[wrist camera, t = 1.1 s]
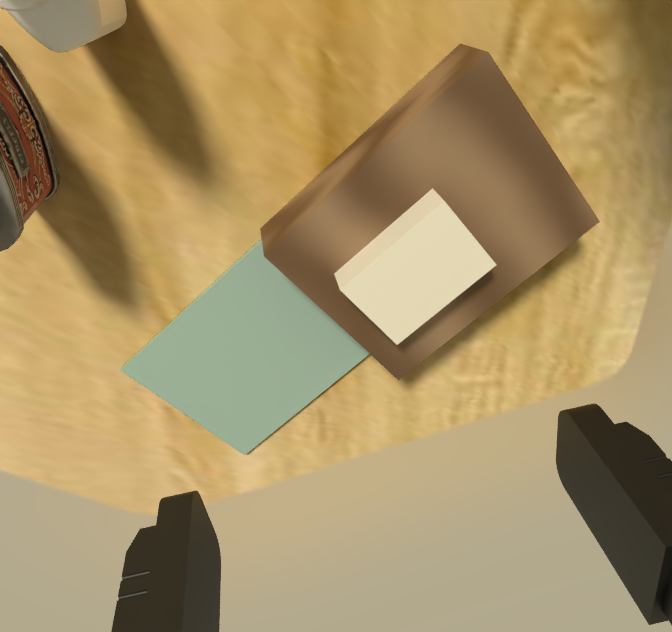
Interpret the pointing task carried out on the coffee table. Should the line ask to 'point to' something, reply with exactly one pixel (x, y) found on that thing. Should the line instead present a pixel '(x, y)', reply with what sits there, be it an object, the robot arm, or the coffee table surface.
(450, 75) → the wooden block
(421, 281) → the tile
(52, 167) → the lighter
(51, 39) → the eye dropper bottle
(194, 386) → the mat
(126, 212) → the coffee table surface
